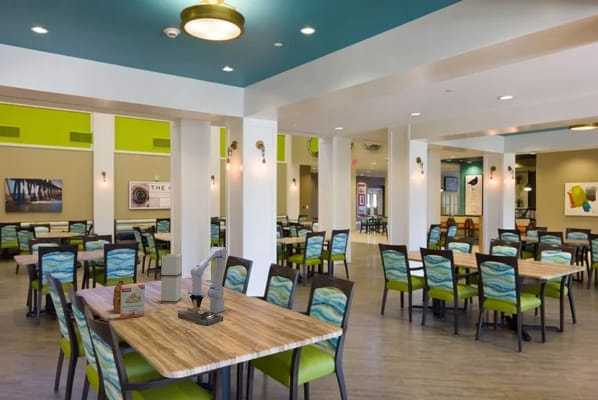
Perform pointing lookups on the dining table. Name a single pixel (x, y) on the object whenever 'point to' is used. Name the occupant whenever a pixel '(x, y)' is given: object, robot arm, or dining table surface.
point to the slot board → (191, 315)
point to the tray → (206, 323)
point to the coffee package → (117, 295)
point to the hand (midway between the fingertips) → (196, 306)
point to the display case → (171, 278)
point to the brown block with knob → (195, 306)
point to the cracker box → (132, 300)
